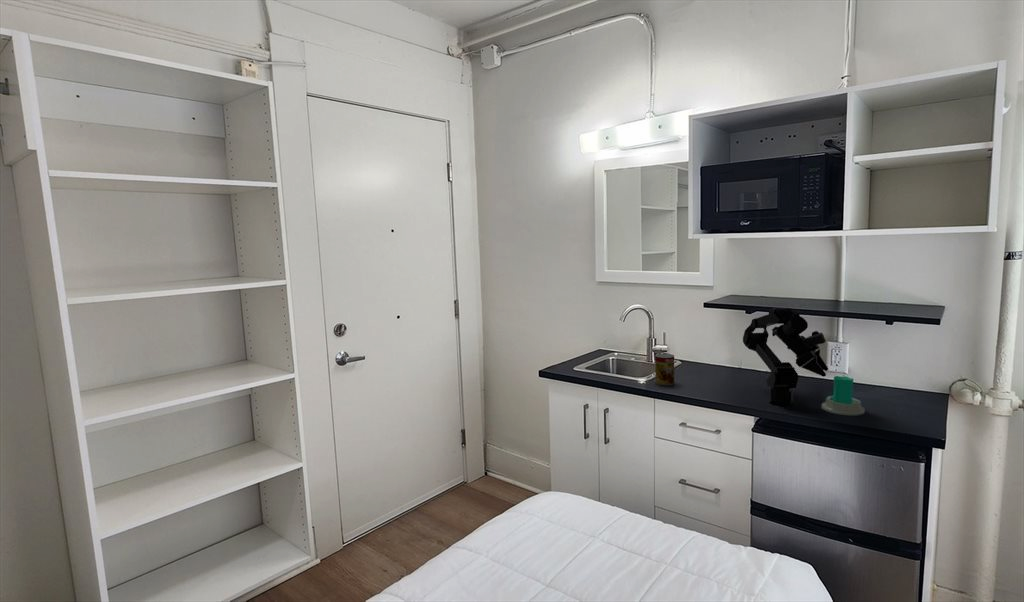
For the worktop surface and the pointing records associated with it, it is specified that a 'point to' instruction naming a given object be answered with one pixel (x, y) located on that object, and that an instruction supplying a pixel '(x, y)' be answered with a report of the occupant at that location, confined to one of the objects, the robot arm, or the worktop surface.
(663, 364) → the canned food
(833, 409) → the candle dish
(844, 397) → the candle
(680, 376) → the worktop surface
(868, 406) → the worktop surface
